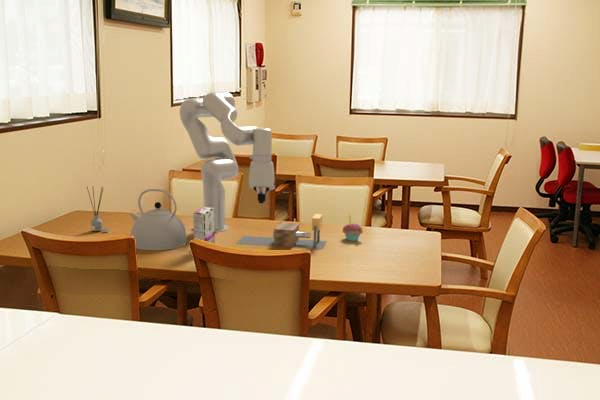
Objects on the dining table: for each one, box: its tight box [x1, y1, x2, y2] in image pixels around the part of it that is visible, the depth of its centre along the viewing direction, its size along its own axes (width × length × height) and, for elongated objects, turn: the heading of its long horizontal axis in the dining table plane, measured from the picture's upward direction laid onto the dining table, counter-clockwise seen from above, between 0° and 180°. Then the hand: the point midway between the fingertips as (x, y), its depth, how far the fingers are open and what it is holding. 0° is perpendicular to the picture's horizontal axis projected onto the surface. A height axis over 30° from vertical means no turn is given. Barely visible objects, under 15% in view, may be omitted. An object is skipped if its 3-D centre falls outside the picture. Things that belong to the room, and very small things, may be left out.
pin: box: [272, 227, 312, 239], centre depth 270 cm, size 15×5×5 cm, turn 80°
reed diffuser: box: [86, 185, 109, 233], centre depth 284 cm, size 10×7×20 cm
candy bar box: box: [193, 206, 216, 244], centre depth 258 cm, size 11×5×16 cm, turn 168°
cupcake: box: [342, 214, 364, 242], centre depth 278 cm, size 9×8×12 cm
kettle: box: [129, 188, 187, 251], centre depth 267 cm, size 25×23×22 cm
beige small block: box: [311, 213, 323, 231], centre depth 267 cm, size 3×8×5 cm, turn 170°
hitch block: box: [273, 222, 321, 248], centre depth 269 cm, size 17×12×9 cm
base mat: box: [235, 235, 328, 250], centre depth 271 cm, size 36×13×1 cm, turn 80°
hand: (261, 202), depth 269 cm, fingers closed
